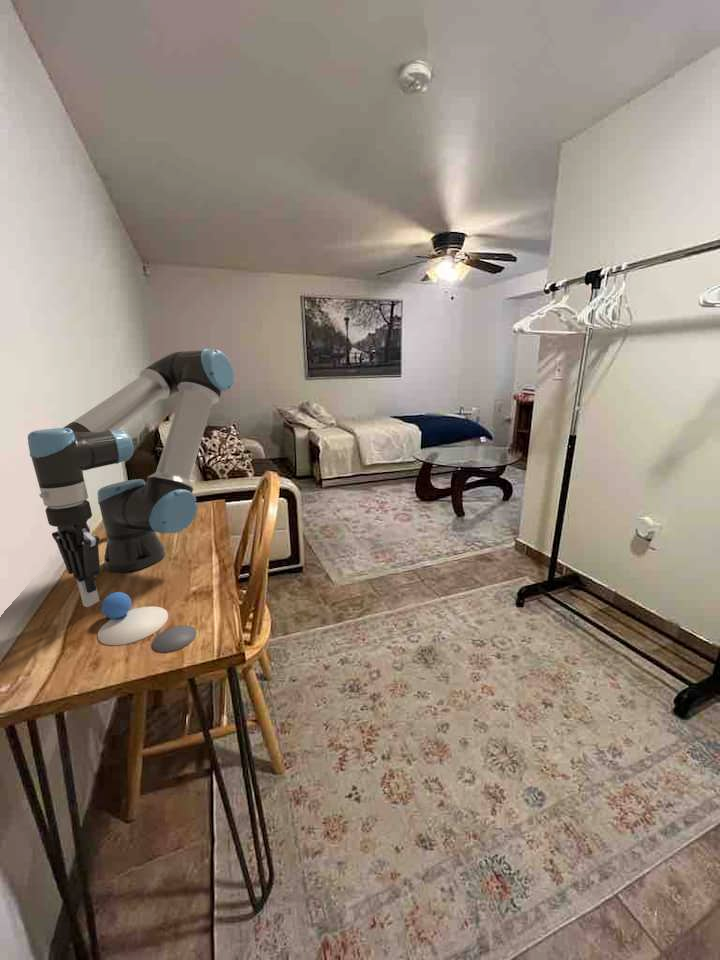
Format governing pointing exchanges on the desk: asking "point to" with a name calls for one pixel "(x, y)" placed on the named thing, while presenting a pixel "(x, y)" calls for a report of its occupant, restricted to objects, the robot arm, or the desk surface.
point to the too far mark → (174, 638)
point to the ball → (116, 605)
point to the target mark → (133, 626)
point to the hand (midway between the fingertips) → (91, 603)
